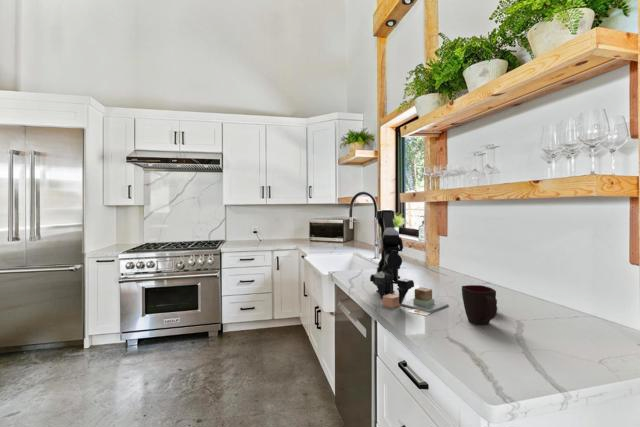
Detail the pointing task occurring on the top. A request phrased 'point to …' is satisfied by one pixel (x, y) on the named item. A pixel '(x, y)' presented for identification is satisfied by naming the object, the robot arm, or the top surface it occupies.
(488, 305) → the cup
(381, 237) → the robot arm
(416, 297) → the brown block
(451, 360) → the top surface
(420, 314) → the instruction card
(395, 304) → the brick terracotta
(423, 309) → the plate
